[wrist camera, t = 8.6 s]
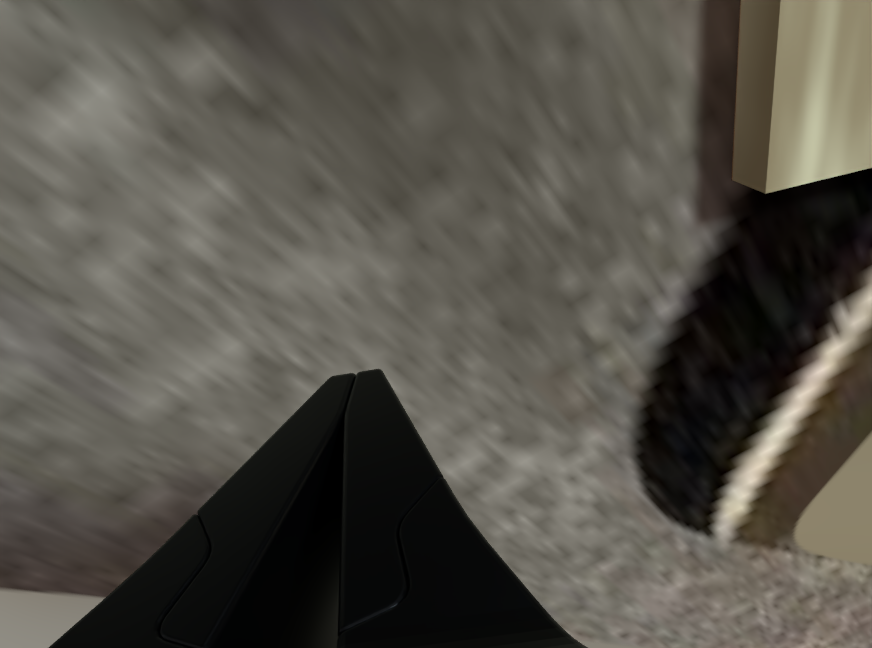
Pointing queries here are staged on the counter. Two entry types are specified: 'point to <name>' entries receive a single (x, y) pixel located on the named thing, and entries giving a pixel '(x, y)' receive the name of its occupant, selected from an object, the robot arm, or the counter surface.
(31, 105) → the counter surface
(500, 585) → the robot arm
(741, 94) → the birch tile
